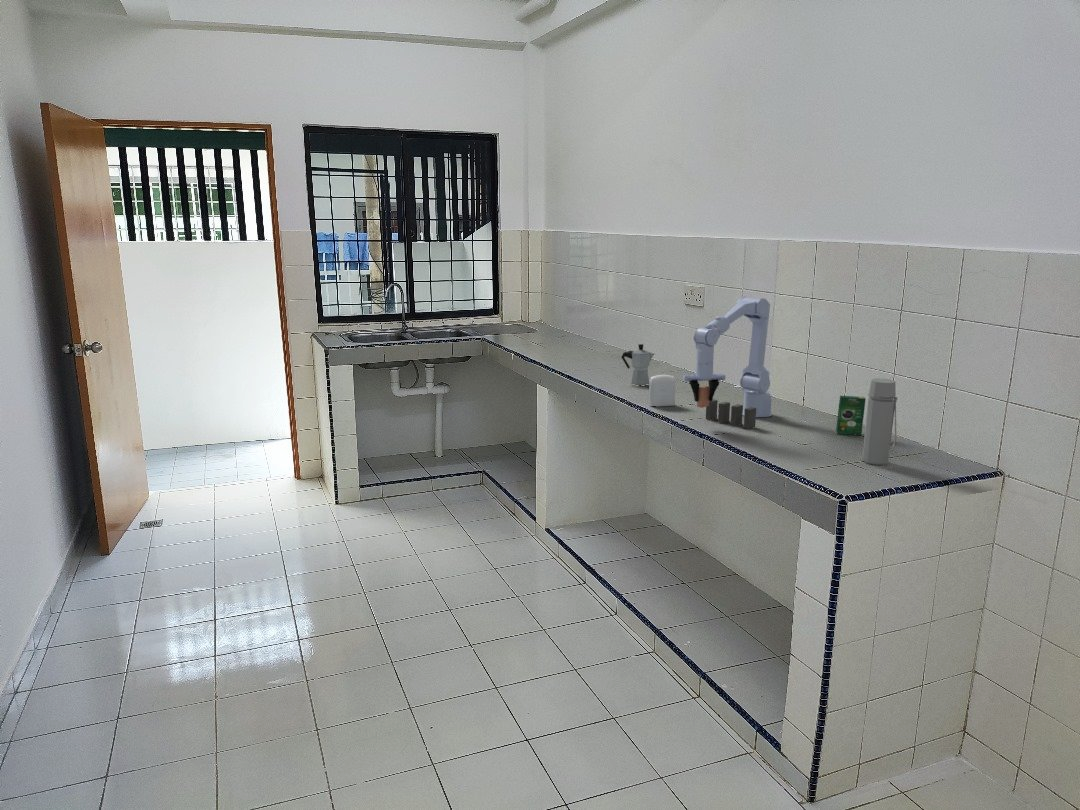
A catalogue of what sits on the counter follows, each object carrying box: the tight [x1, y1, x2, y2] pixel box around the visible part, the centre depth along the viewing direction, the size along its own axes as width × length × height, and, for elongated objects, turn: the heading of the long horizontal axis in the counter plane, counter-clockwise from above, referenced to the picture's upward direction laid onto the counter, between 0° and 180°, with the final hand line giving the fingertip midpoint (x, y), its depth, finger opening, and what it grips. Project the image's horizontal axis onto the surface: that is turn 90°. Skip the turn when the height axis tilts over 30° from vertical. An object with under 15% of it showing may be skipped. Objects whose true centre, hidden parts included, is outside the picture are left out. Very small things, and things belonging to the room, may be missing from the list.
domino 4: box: [743, 407, 757, 430], centre depth 269 cm, size 2×4×7 cm, turn 130°
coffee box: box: [835, 395, 866, 436], centre depth 259 cm, size 8×3×13 cm, turn 77°
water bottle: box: [862, 378, 898, 466], centre depth 227 cm, size 9×8×25 cm
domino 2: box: [717, 401, 731, 424], centre depth 277 cm, size 2×4×7 cm, turn 131°
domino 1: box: [705, 398, 719, 421], centre depth 281 cm, size 2×4×7 cm, turn 130°
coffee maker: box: [621, 343, 655, 385], centre depth 340 cm, size 15×9×18 cm, turn 84°
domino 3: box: [730, 403, 744, 427], centre depth 273 cm, size 2×4×7 cm, turn 130°
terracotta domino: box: [696, 385, 710, 409], centre depth 269 cm, size 2×4×7 cm, turn 130°
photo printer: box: [648, 374, 676, 407], centre depth 301 cm, size 10×4×12 cm, turn 96°
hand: (703, 400), depth 269 cm, fingers closed on terracotta domino, 4 cm apart
